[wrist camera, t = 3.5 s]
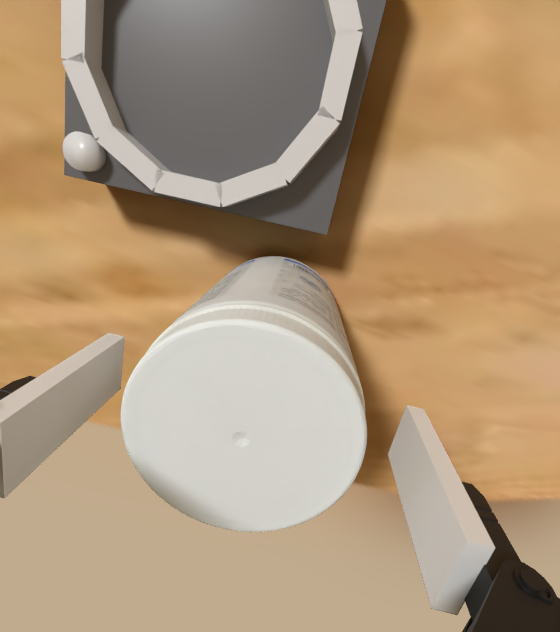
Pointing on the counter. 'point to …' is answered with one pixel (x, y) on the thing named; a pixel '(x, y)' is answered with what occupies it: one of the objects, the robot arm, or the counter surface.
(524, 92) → the counter surface
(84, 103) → the grey square ring block
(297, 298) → the supplement tub
